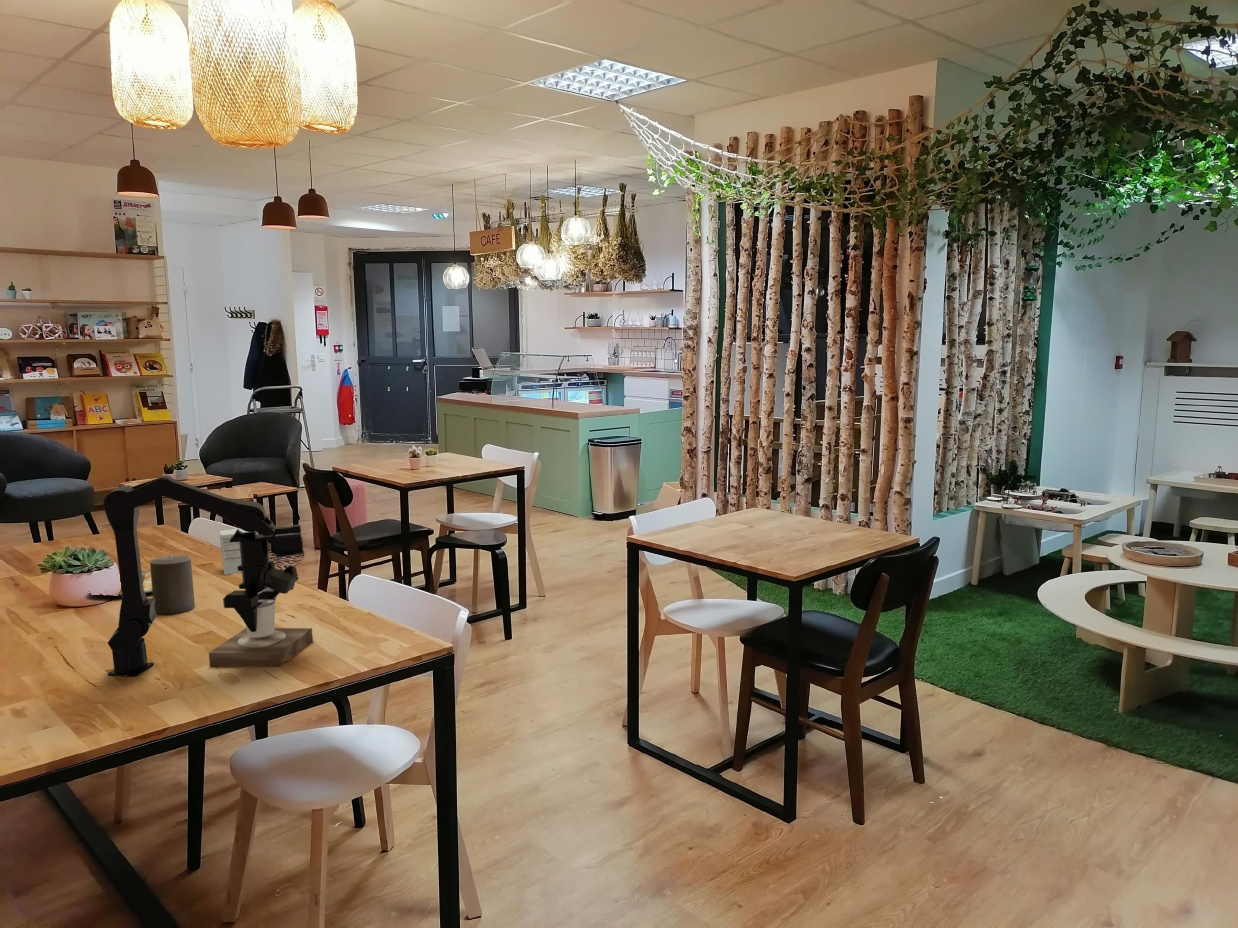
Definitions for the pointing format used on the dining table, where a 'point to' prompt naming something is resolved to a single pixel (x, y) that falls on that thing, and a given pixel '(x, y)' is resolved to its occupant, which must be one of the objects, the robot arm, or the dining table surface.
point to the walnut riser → (261, 648)
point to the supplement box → (230, 552)
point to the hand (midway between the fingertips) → (260, 626)
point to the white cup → (264, 619)
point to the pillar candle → (172, 584)
